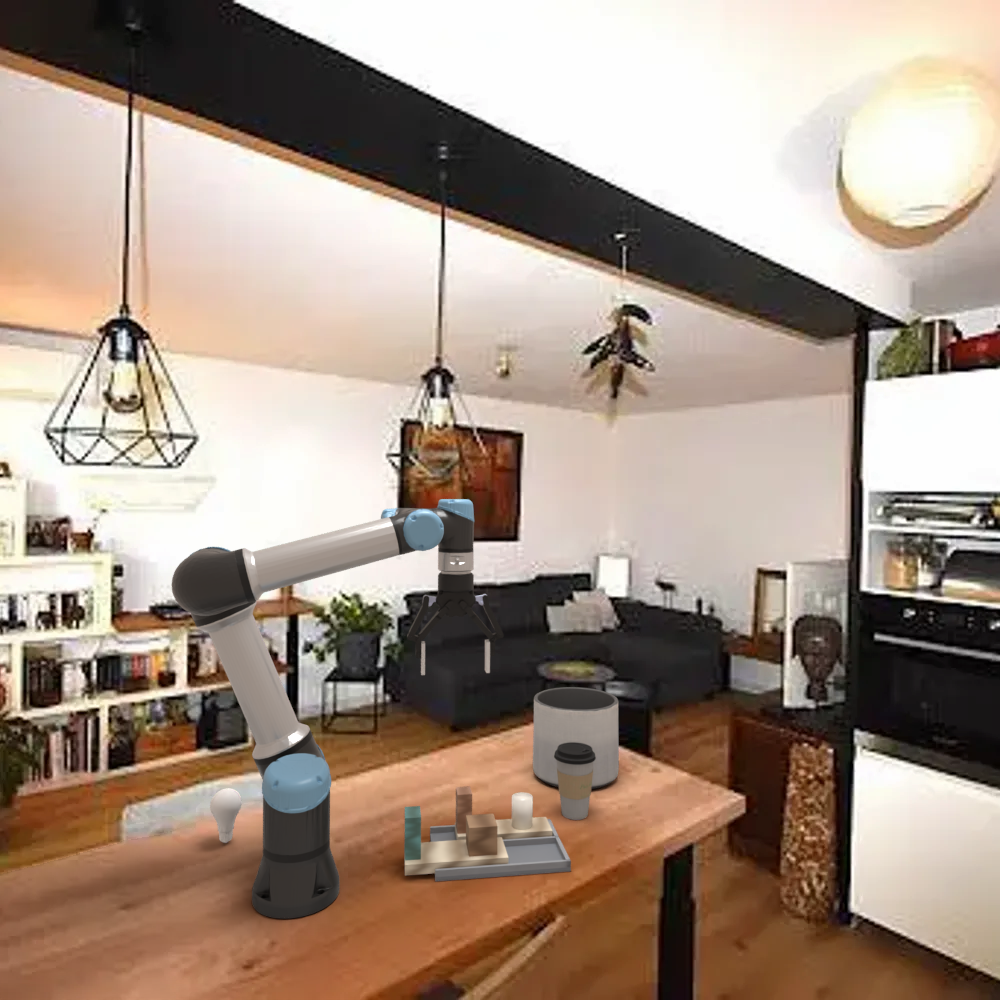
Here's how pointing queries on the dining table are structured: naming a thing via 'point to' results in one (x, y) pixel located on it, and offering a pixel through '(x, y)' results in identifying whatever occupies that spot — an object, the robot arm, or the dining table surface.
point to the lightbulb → (225, 811)
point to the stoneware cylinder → (522, 811)
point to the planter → (576, 730)
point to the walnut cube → (481, 835)
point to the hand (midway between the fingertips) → (455, 672)
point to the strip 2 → (504, 826)
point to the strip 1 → (440, 850)
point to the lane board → (510, 857)
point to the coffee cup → (574, 778)
